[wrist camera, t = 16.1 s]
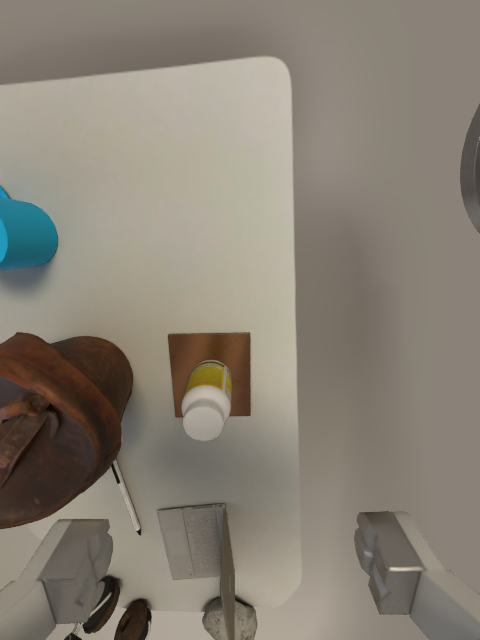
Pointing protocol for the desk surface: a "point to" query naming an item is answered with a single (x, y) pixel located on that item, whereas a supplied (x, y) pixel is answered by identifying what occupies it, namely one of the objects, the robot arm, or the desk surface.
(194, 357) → the brown wooden coaster
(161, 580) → the desk surface
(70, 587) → the robot arm
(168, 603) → the desk surface
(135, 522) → the pen
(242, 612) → the decorative stone
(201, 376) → the pill bottle
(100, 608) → the headset
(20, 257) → the mug
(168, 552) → the laptop
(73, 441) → the case
